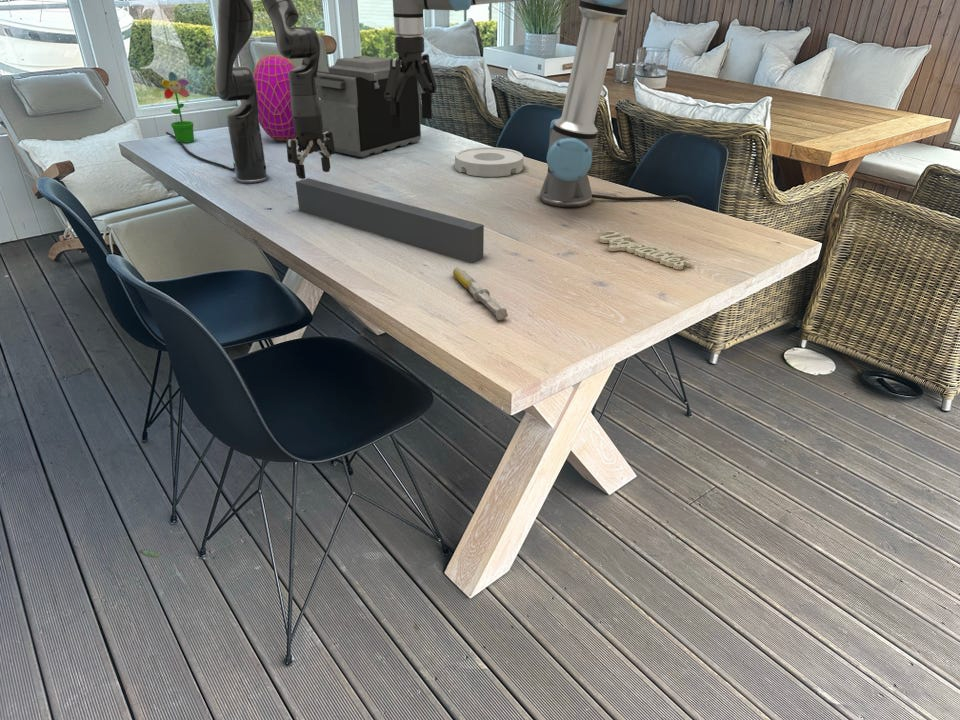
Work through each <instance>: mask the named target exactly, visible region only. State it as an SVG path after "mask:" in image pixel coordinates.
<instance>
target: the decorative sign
mask: <svg viewBox="0 0 960 720" xmlns="http://www.w3.org/2000/svg"><path fill="white" fill-rule="evenodd" d="M599 243H602V244H608V245H609V246H608V252H619V251H623V252H625V251H626V252H627V253H630V254H634V255H635V256H638V257H640V258H645V259H646V260H651V261H653V262H659V264H661V265H665V266H666V267H671V268H672V269H674V270H683V269H684V267H686V268H689V267H690V261H689V260H685V259H684V258H685V257H684V254H675V253H674V251H672V250H664V251H659V250H658V247H655V246H654V245H648V244H646V243H643V244H638V243H636V242H632V236H631V235H622V236H620V232H618V231H614V230H606V234H605V235H601V236H600V237H599Z"/></svg>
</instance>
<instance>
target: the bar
mask: <svg viewBox="0 0 960 720" xmlns="http://www.w3.org/2000/svg"><path fill="white" fill-rule="evenodd" d="M295 186H296V196H297V203H298V211H299V212H302V213H306V214H309V215H312V216H315V217H320V218H323V219H326V220H329V221H332V222H336V223H339V224H343V225H345V226H349V227H352V228H355V229H359V230H362V231H365V232H367V233H371V234H375V235H377V236H380V237H381V236H382V237H385V238H388V239H391V240H394V241H398V242H400V243H405V244H407V245H411V246H414V247H417V248H421V249H424V250H428V251H430V252H433V253H437V254H439V255H440V254H441V255H443V256H447V257H450V258H453V259H457V260H461V261H463V262H467V263H469V264H474V263H476V262H477V261H479V260H482V259H484V245H485V243H484V240H485V234H484V232H485V225H484V224H482V223H479V222H475V221H471V220H467V219H463V218H461V217H460V218H459V217H456V216H452V215H448V214H445V213H440V212H437V211H433V210H429V209H426V208H423V207H418V206H414V205H411V204H407V203H403V202H400V201H397V200H392V199H388V198H384V197H381V196H377V195H373V194H369V193H366V192H362V191H358V190H354V189H351V188H346V187H343V186H339V185H335V184H332V183H328V182H324V181H320V180H316V179H313V178H309V177H307V178H305V179H300V180H296V181H295Z"/></svg>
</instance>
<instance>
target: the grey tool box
mask: <svg viewBox="0 0 960 720" xmlns="http://www.w3.org/2000/svg"><path fill="white" fill-rule="evenodd" d="M390 59H391V58H385V57H377V56H367V55H356V56H353V57H350V58H349V57H343V58H342V57H341V58H337V59H336V60H335V63H334V64H333V65H330V66H329V67H328V72H327V71H320V70H318V71H317V84H318V94H319V98H320V103H321V111H322V121H323V131H322V133H323V132H324V131H328V132H332V135H333V141H334V148H335V153H340V154H344V155H348V156H353V157H357V158H362V159H363V158H366V157H367V158H368V157H369V155H371V154H375V155H377V154H381V153H382V152H383V151H391V150H395V149H396V148H397V147H405V146H407V145H408V144H416V143H418V142H419V141H421V137H422V128H421V97H420V92H419V91H420V89H419V82H418V81H417V79H416V77H415V75H412V76H410V77H409V78H408V79H407V80H406V83H405V85H404V88H403V90H402V93H401V95H400V98H399V100H398V101H401V112H402V128H397V127H392V114H391V109H390V101H388V100H386V99H384V93H385V89H386V84H387V80H388V75H389V71H390ZM389 95H390V94H389ZM395 96H396V95H395ZM322 143H323V145H324V146H325V143H324V139H323V142H322Z"/></svg>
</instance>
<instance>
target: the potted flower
mask: <svg viewBox="0 0 960 720" xmlns="http://www.w3.org/2000/svg"><path fill="white" fill-rule="evenodd" d="M167 76H168V77H167V78H168V79H165V78H164V79H162V80H161V84H160V85H161V86H162V87H163V88H166V89H165V90H164V93H163V95H164V98H165V99H171V98H172V97H173V96H175V101H176V106H177V108H172V109H171V110H170V112H171V113H172V114H174V115H179V120H180V121H174V122H171V123H170V127H171V129H172V130H173V133H174V134H173V135H174V136H175V137H176V139H175V140H176V142H177V143H179V142H178V141H181V142H182V144H188V143H192V142H194V141H195V135H194V122H193V121H190V120H183V116H182V111H181V109H182V108H183V107H184V106H185V104H184V103H180V101H179V96H178V95H180V96H181V97H183V98H187V97H190V92H189V90H187V89H186V88H184V87H186V86H188V84H189V83H190V81H189V80H188V79H186V78H183V77H182V78H179V79H178V76H177V74H176V73H175V72H174V71H169V73H168V75H167Z"/></svg>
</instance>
